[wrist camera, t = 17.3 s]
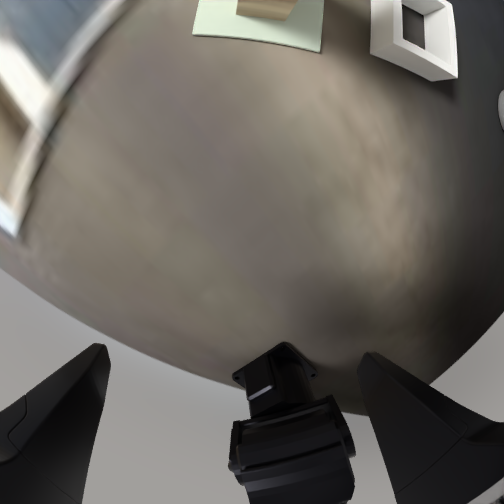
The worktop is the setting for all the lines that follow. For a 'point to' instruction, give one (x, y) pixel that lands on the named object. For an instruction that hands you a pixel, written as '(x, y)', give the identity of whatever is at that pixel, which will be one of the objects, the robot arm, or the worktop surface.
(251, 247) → the worktop surface
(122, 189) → the worktop surface
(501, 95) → the travel mug
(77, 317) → the worktop surface
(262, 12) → the tall tan tower
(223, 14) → the mat
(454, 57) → the holder box
